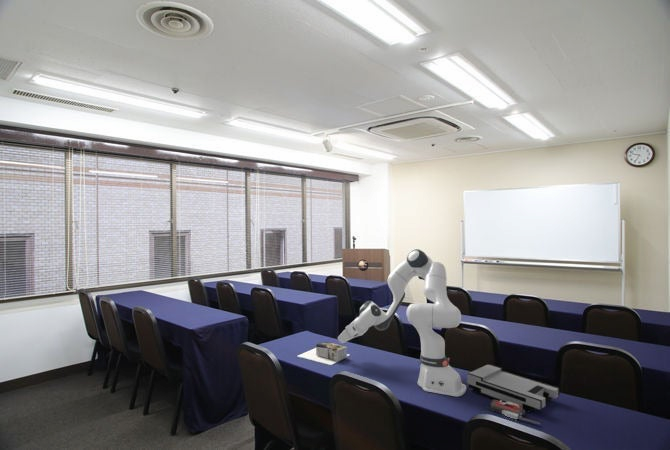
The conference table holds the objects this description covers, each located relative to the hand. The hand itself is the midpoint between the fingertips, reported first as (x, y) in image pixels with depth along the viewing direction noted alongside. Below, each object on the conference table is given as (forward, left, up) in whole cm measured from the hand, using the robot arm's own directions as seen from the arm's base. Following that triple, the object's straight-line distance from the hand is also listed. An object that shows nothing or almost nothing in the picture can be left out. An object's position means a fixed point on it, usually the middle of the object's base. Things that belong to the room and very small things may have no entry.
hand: (343, 341), depth 210 cm
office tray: (-87, -6, -11) cm, 88 cm away
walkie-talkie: (-90, +12, -11) cm, 92 cm away
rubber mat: (+13, +1, -10) cm, 17 cm away
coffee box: (0, 0, -7) cm, 7 cm away
